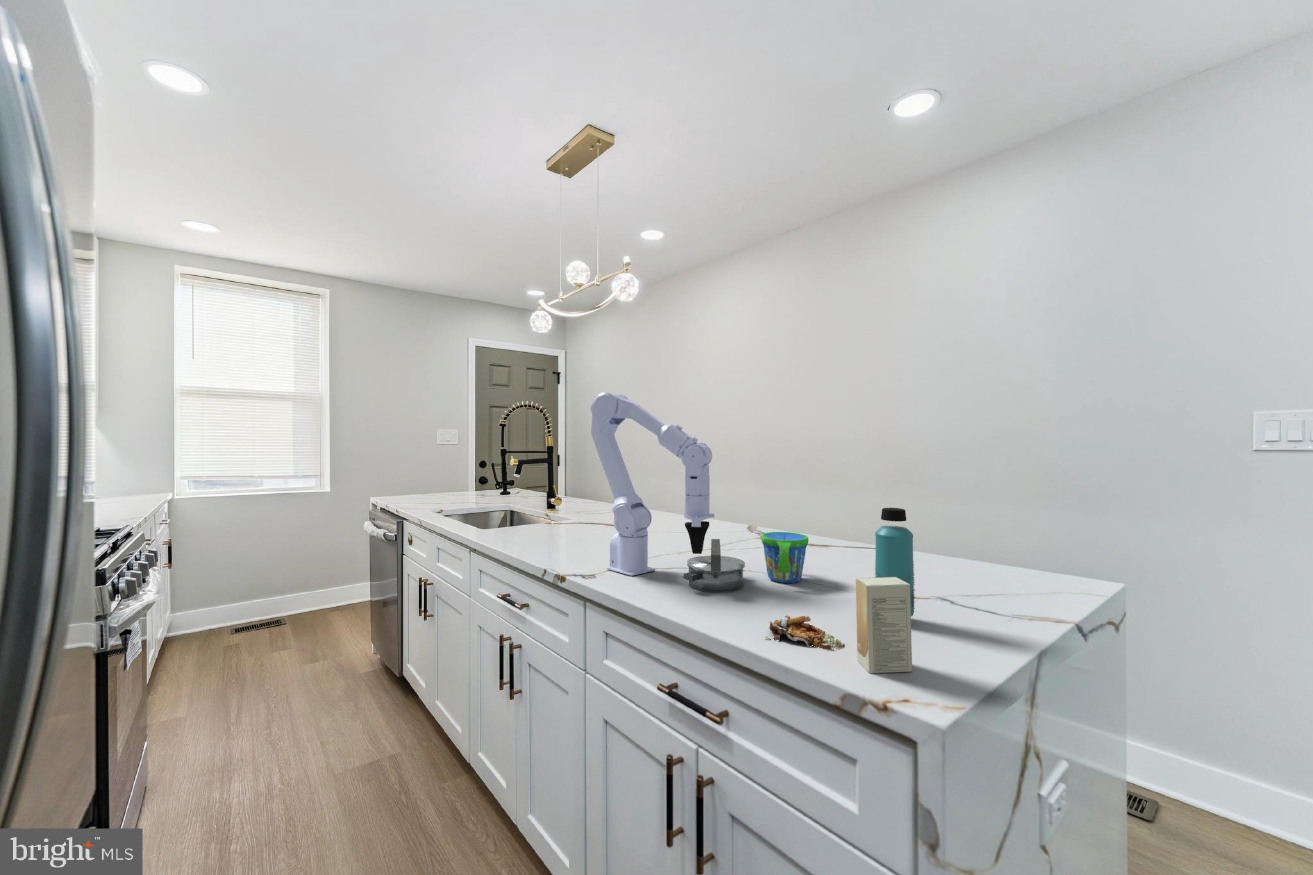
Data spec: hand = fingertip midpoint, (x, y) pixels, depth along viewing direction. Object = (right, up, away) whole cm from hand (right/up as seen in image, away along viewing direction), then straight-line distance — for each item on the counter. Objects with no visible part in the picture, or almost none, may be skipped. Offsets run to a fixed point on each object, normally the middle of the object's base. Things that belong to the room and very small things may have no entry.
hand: (697, 553), depth 125 cm
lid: (+4, -1, -6) cm, 7 cm away
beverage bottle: (+33, -6, -30) cm, 45 cm away
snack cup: (+20, -6, -2) cm, 21 cm away
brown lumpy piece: (+14, -6, -38) cm, 42 cm away
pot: (+4, -6, -6) cm, 9 cm away
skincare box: (+23, -6, -49) cm, 54 cm away
